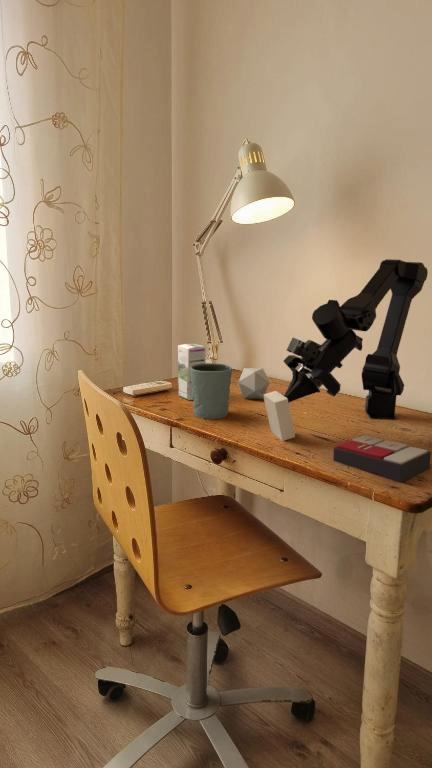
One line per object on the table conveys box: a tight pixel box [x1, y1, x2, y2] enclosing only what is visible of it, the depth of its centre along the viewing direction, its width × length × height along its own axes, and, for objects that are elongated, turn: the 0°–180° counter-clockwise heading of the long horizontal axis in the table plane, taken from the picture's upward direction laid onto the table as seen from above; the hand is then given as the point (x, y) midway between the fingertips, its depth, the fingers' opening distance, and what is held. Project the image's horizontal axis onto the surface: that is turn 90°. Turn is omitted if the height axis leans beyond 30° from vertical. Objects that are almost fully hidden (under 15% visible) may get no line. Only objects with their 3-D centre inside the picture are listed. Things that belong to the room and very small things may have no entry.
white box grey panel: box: [263, 390, 296, 442], centre depth 128 cm, size 3×7×9 cm, turn 15°
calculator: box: [332, 435, 432, 484], centre depth 113 cm, size 11×4×15 cm
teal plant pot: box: [190, 362, 233, 420], centre depth 143 cm, size 10×10×12 cm
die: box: [237, 367, 271, 400], centre depth 160 cm, size 8×9×10 cm
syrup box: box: [177, 343, 206, 401], centre depth 158 cm, size 6×6×14 cm
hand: (283, 401), depth 127 cm, fingers closed, pressing on white box grey panel
